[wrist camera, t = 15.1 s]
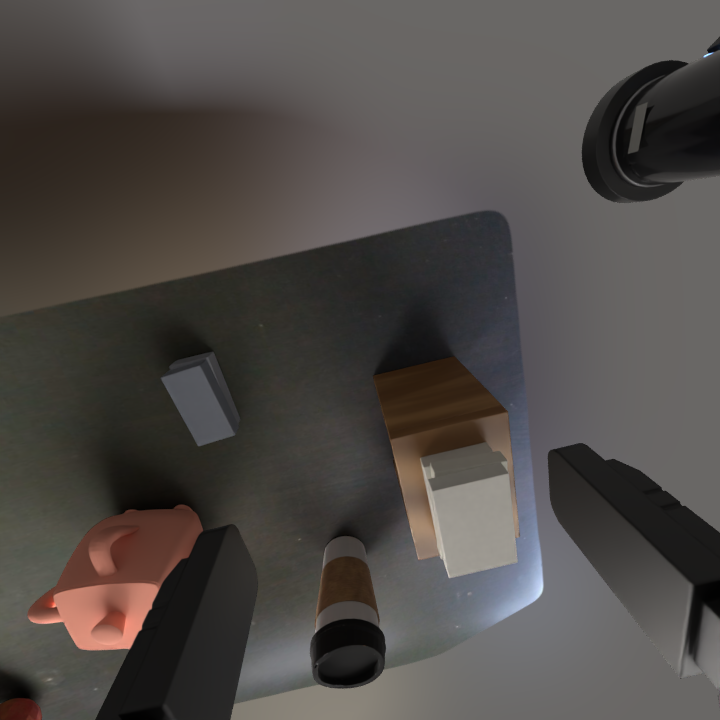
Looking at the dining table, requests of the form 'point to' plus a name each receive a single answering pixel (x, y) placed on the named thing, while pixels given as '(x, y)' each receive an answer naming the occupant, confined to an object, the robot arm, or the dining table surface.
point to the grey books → (202, 398)
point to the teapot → (118, 576)
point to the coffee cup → (346, 620)
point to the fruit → (20, 710)
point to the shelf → (438, 431)
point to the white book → (474, 519)
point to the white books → (457, 467)
